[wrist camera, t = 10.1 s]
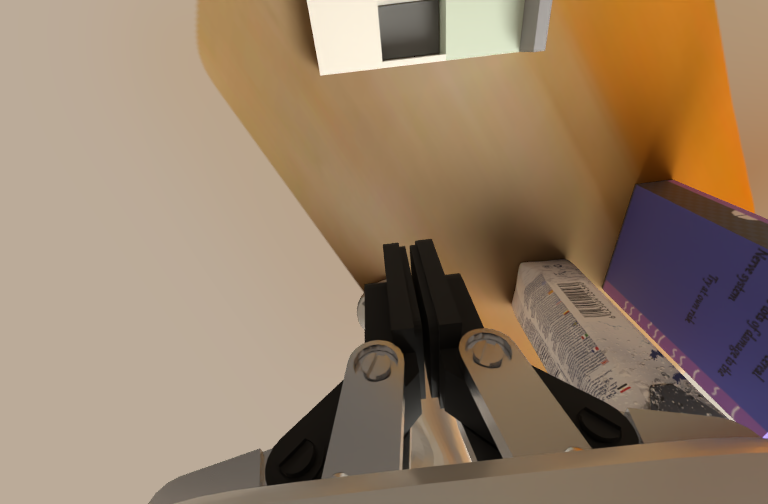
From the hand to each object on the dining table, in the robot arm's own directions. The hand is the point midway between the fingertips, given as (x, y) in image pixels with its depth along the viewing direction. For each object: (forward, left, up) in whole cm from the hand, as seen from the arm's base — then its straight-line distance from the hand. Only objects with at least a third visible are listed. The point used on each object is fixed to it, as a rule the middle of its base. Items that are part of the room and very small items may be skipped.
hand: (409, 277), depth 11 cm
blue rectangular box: (-20, -35, -29) cm, 50 cm away
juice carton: (-26, -22, -29) cm, 45 cm away
